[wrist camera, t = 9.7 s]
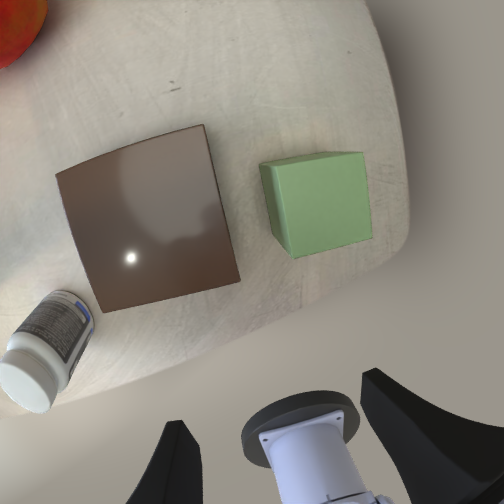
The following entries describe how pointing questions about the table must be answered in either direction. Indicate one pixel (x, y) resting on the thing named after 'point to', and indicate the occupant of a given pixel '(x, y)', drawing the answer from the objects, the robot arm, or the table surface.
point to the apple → (19, 27)
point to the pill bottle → (46, 351)
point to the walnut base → (149, 220)
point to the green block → (317, 201)
